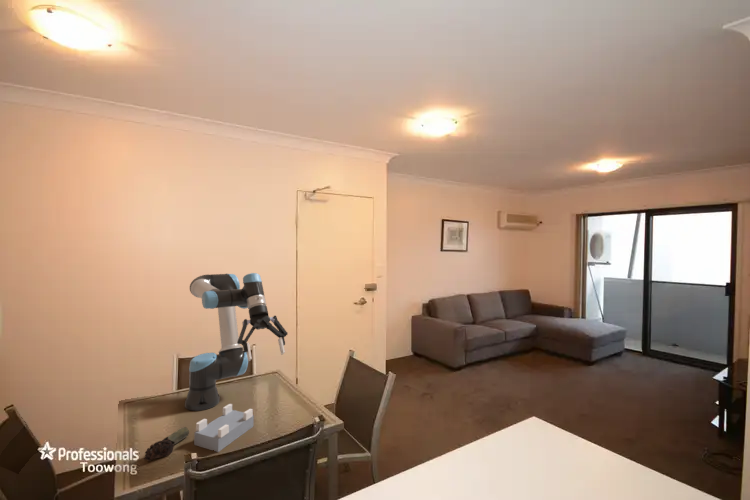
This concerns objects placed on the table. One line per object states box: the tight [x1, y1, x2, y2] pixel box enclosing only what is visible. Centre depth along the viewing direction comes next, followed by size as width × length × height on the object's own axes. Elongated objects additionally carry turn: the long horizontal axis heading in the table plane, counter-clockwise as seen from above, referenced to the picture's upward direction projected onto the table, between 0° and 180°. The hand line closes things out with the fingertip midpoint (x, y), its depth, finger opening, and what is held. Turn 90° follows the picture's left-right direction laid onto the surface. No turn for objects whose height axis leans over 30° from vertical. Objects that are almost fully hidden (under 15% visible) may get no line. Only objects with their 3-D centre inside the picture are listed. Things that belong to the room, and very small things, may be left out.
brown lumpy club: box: [143, 426, 190, 462], centre depth 135 cm, size 18×7×6 cm, turn 167°
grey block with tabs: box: [193, 403, 255, 453], centre depth 145 cm, size 12×20×8 cm, turn 160°
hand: (267, 356), depth 142 cm, fingers open, 13 cm apart
